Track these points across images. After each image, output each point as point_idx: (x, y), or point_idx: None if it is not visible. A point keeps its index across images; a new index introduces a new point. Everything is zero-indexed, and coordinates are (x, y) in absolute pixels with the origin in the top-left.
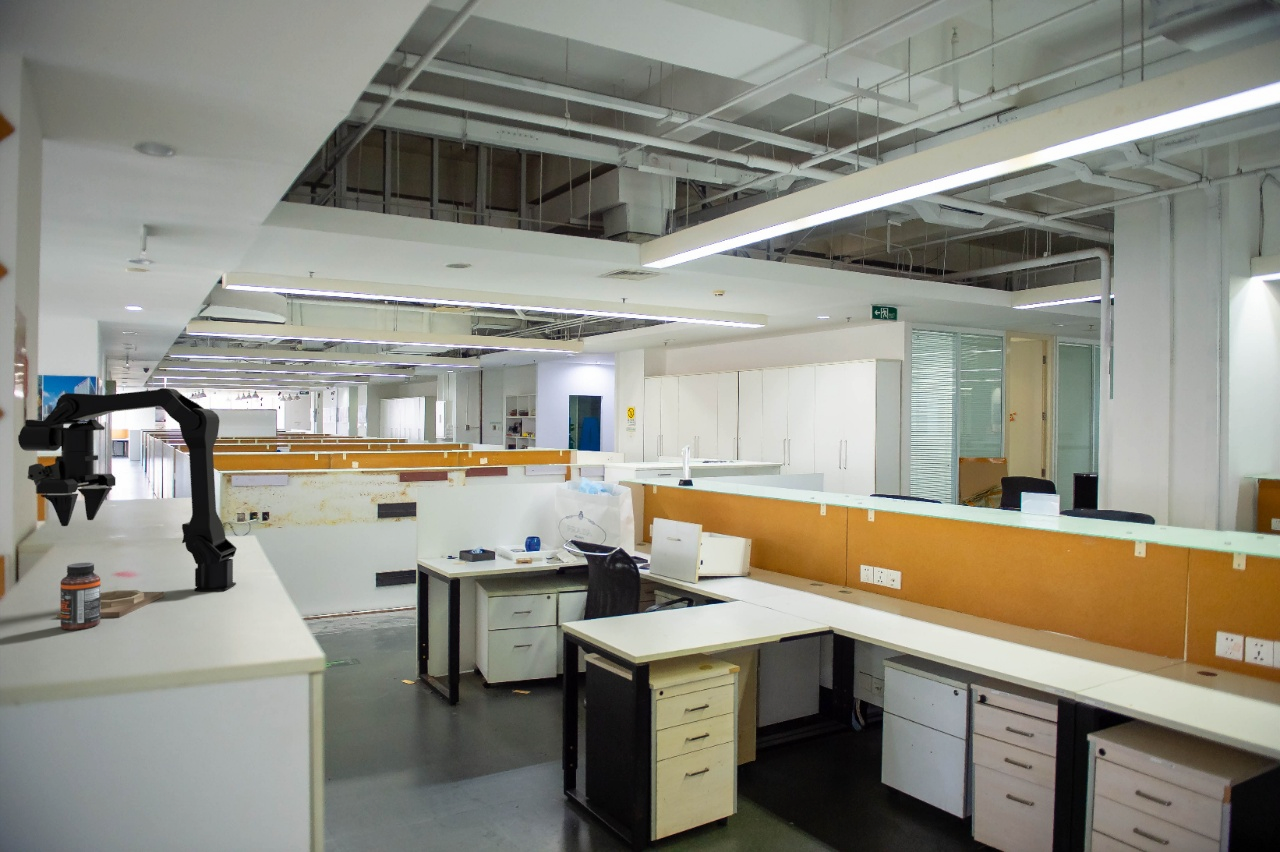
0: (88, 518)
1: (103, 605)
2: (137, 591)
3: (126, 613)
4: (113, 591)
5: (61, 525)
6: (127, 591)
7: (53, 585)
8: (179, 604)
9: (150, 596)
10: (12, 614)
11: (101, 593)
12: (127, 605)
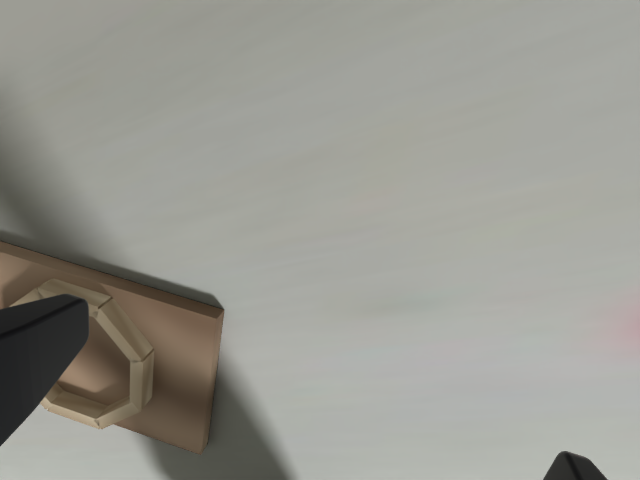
0: (562, 474)
1: None
2: (123, 413)
3: None
4: (129, 355)
5: (64, 294)
6: (130, 389)
7: (582, 10)
8: (111, 471)
9: (141, 428)
10: (9, 77)
11: (103, 327)
12: None
